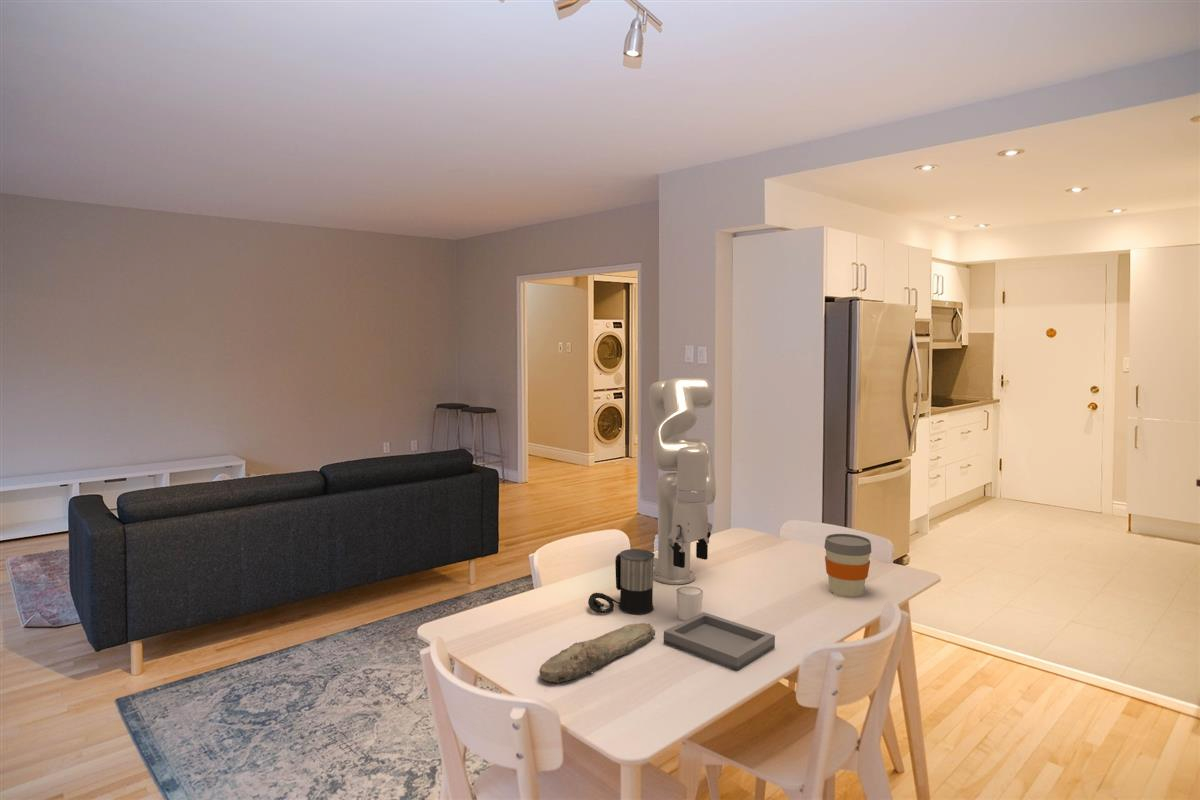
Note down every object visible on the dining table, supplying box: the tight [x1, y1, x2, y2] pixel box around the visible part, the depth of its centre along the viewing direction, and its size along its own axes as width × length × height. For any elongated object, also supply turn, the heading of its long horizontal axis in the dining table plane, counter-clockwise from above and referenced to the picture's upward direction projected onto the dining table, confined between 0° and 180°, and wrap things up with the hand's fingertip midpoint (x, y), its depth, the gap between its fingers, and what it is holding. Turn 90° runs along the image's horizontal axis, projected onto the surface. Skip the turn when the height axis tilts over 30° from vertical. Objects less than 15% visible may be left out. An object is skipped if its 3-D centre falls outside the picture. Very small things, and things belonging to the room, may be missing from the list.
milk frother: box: [587, 548, 656, 615], centre depth 186 cm, size 14×16×15 cm
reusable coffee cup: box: [824, 533, 872, 598], centre depth 201 cm, size 12×13×15 cm
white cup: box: [675, 585, 704, 622], centre depth 182 cm, size 7×7×7 cm
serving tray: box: [663, 611, 776, 672], centre depth 165 cm, size 20×16×3 cm
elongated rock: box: [538, 622, 656, 684], centre depth 159 cm, size 35×5×10 cm
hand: (690, 562), depth 180 cm, fingers open, 9 cm apart
